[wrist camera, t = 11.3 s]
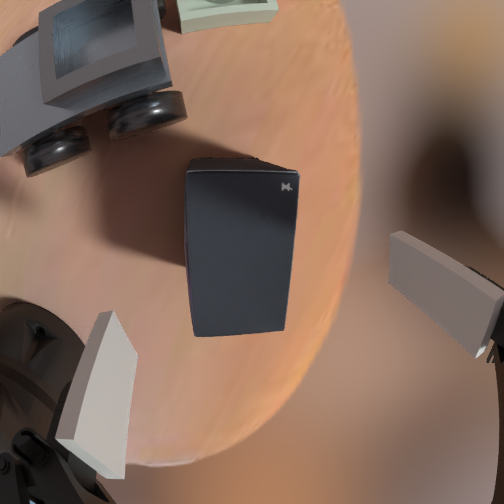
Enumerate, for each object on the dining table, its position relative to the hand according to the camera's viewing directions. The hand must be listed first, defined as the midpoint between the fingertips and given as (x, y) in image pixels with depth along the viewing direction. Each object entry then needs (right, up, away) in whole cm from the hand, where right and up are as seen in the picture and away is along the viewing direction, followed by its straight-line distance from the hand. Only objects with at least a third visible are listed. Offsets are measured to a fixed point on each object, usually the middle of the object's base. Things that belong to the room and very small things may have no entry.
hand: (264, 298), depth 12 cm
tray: (-4, +25, +5) cm, 26 cm away
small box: (-3, +5, +13) cm, 15 cm away
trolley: (-14, +16, +6) cm, 22 cm away
